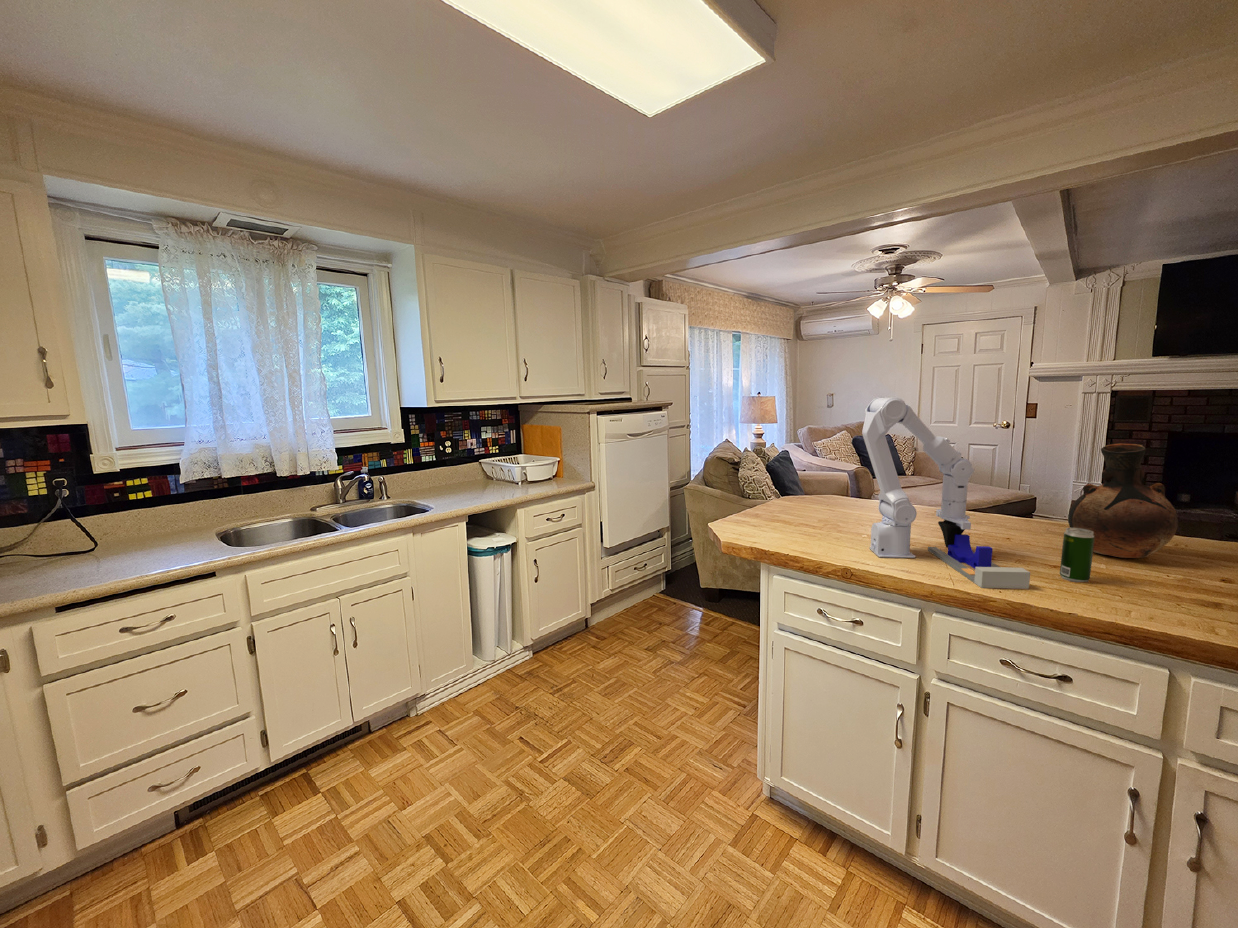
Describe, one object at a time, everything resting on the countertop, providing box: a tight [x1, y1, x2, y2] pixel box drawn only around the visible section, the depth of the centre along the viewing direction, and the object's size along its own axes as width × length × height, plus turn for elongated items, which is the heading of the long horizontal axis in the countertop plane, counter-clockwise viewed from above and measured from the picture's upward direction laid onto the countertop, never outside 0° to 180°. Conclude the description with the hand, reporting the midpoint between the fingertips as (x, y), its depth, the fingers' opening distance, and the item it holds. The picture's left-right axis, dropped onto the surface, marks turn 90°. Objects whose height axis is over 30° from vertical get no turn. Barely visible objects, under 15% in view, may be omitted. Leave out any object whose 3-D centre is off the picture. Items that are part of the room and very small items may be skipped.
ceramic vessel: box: [1067, 442, 1179, 559], centre depth 133 cm, size 21×18×30 cm
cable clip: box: [947, 533, 993, 570], centre depth 133 cm, size 12×4×6 cm, turn 172°
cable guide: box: [927, 546, 1031, 590], centre depth 129 cm, size 10×27×4 cm, turn 172°
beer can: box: [1059, 527, 1095, 583], centre depth 120 cm, size 5×5×12 cm
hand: (950, 547), depth 141 cm, fingers closed
